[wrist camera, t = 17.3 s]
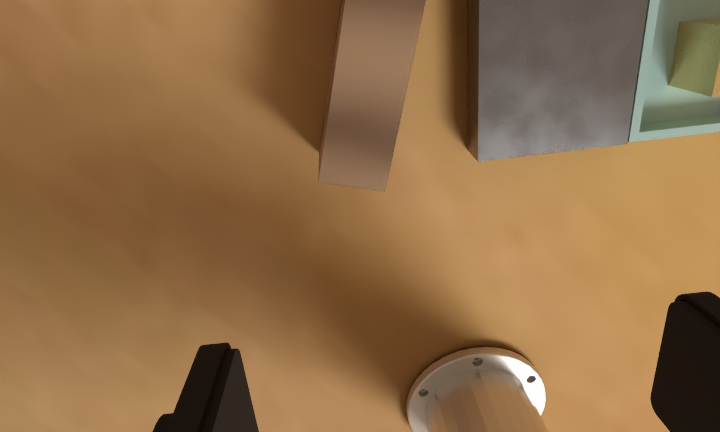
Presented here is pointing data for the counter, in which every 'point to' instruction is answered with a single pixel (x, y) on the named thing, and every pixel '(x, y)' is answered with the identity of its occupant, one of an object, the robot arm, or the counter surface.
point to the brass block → (697, 57)
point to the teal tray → (652, 93)
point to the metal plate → (551, 74)
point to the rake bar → (367, 90)
